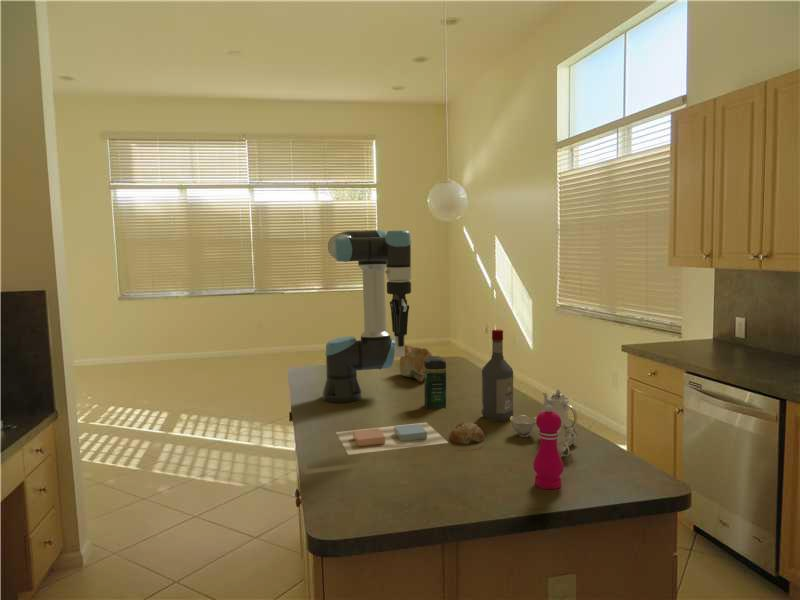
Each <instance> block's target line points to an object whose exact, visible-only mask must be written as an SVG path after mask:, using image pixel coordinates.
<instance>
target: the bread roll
mask: <svg viewBox="0 0 800 600" xmlns="http://www.w3.org/2000/svg"><path fill="white" fill-rule="evenodd" d="M449 433H450V434H449V438H450V441H452V442H453V443H457V444H461V445H469V444H477V443H478V444H479V443H483V442H484V441H485V434H484V432H483V430H482V429H481V427H479V426H478V424H476V423H474V422H471V421H463V422H459V423H458V424H457V425H456V426H454V427H453V429H452V430H451V431H450V432H449Z"/></svg>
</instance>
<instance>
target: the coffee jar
mask: <svg viewBox="0 0 800 600" xmlns="http://www.w3.org/2000/svg"><path fill="white" fill-rule="evenodd" d="M423 381H424V388H423V389H424V394H423V395H424V397H423V398H424V399H423V400H424V407H425V408H426V409H427V410H431V409H434V410H435V409H442V408H443V409H446V408H447V361H446V360H445V359H444V358H443V357H441V356H440V355H435V356H434V355H433V356H429V357H428V358H426V359H425V361H424V380H423Z"/></svg>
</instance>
